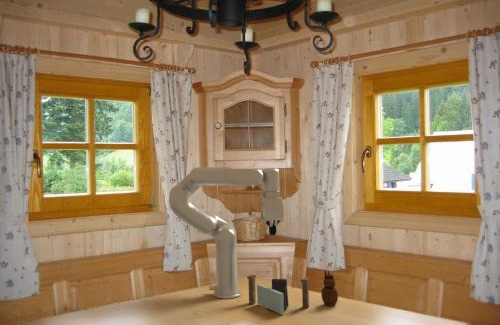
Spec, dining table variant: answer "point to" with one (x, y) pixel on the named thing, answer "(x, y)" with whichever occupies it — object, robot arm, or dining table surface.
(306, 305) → the brown gate posts
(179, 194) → the robot arm
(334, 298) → the wooden figurine
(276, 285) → the door stopper
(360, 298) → the dining table surface
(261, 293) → the door
